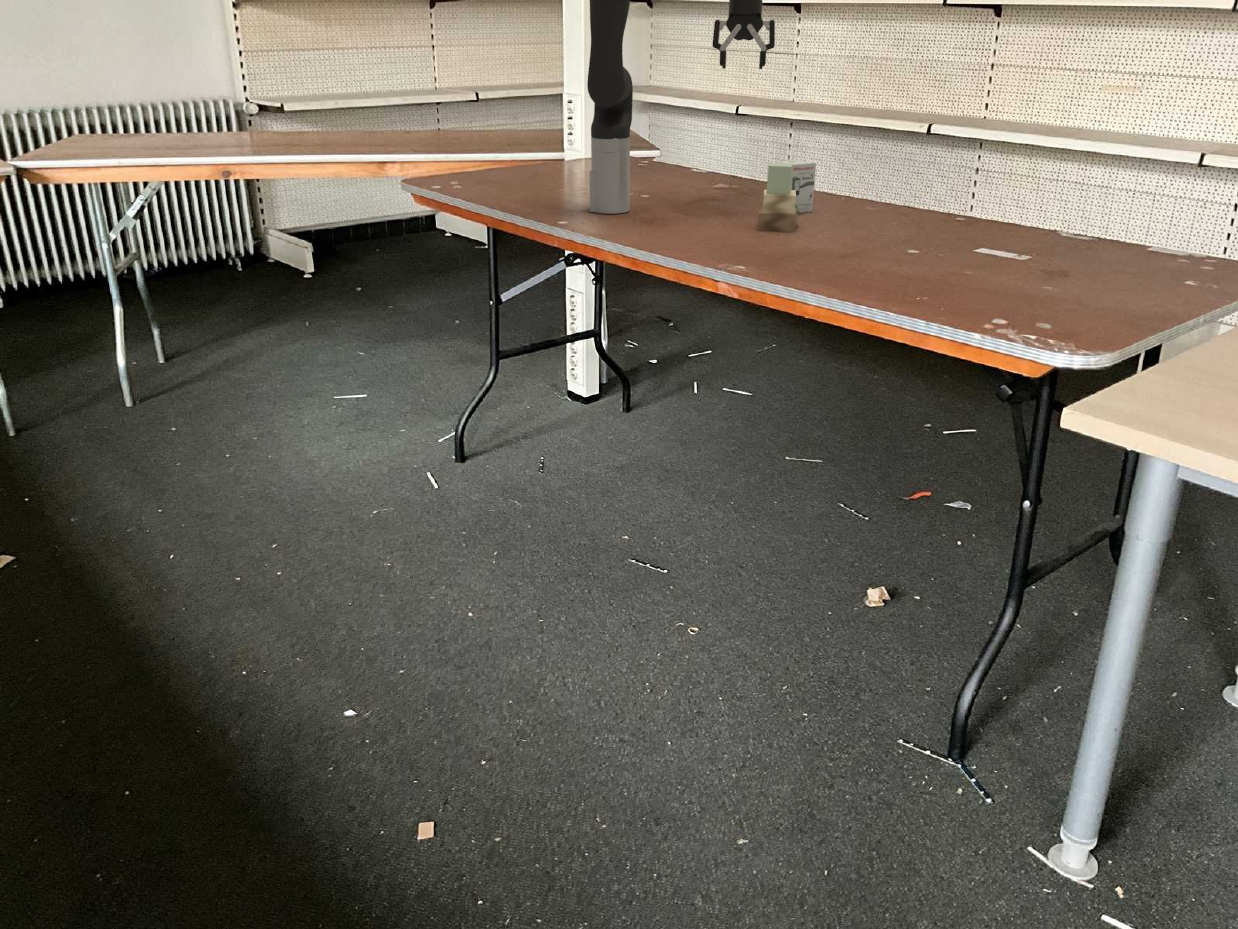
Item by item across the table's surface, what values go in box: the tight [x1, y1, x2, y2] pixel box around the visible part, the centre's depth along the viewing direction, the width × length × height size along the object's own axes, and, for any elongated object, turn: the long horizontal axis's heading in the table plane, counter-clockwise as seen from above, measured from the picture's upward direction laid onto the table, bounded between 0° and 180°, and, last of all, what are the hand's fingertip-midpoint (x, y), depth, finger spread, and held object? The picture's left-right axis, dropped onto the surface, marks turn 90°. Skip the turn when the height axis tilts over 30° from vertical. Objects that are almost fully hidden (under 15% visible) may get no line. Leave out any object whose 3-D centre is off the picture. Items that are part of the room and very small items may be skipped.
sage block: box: [766, 162, 794, 195], centre depth 215 cm, size 5×5×6 cm
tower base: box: [757, 206, 798, 233], centre depth 219 cm, size 8×8×4 cm
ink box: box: [776, 159, 817, 214], centre depth 234 cm, size 9×5×12 cm, turn 119°
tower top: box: [762, 189, 796, 214], centre depth 217 cm, size 7×7×4 cm
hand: (742, 68), depth 227 cm, fingers open, 8 cm apart
